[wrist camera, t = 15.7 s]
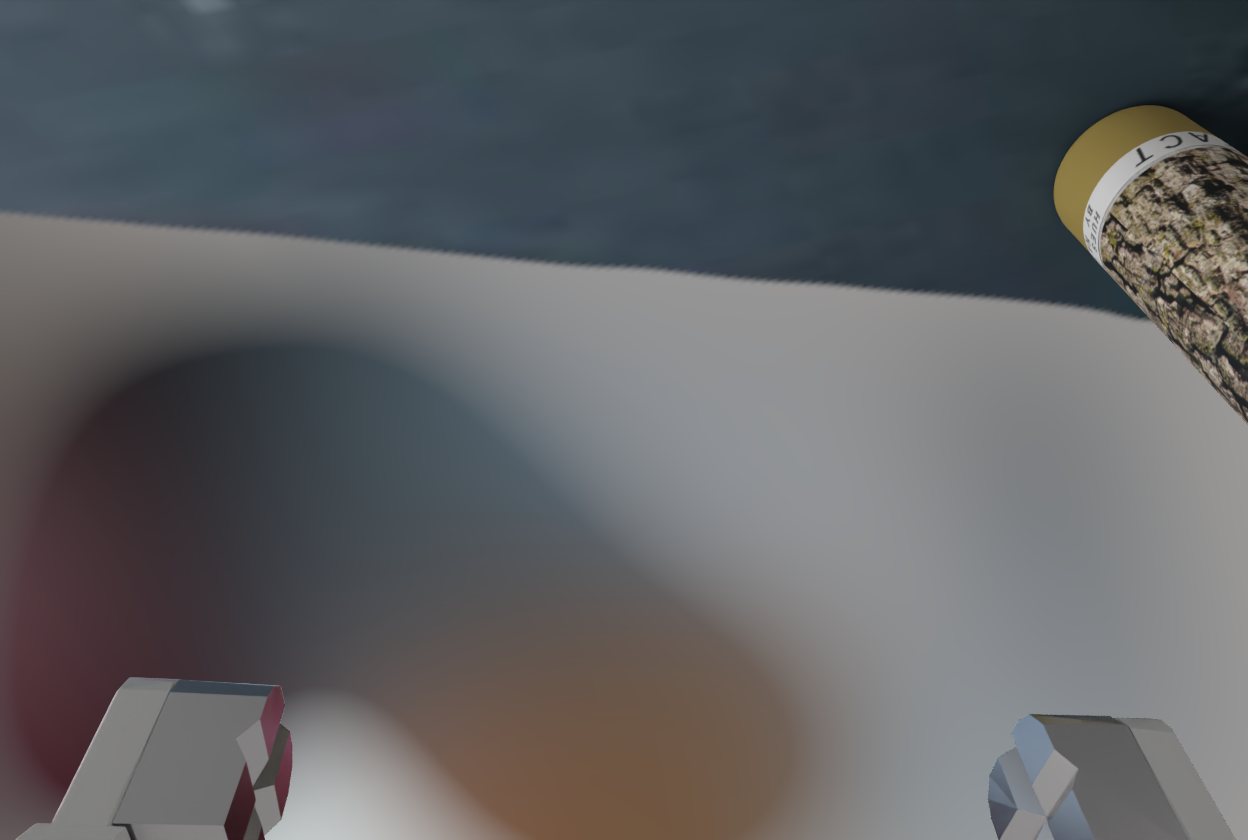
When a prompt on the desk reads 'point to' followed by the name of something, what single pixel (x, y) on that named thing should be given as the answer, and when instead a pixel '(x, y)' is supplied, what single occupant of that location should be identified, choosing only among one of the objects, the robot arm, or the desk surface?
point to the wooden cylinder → (1168, 231)
